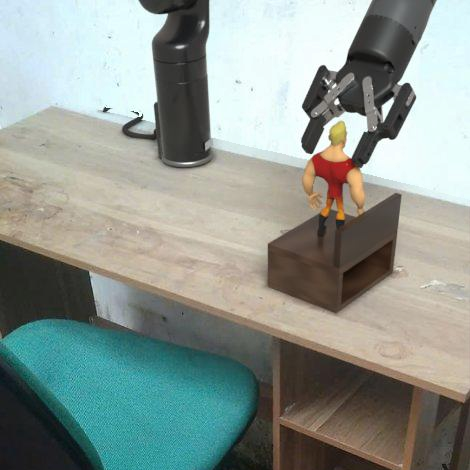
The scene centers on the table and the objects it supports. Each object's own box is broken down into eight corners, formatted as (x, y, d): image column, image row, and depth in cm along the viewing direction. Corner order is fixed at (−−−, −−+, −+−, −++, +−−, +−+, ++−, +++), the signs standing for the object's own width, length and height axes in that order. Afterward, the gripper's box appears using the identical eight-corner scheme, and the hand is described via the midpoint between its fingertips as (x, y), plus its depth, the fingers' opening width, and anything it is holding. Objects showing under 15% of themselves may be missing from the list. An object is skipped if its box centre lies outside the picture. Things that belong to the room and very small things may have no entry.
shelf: (267, 286, 113) (267, 207, 105) (325, 249, 121) (329, 173, 112) (336, 313, 107) (341, 232, 99) (393, 272, 115) (401, 194, 107)
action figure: (369, 238, 109) (379, 123, 98) (356, 249, 107) (365, 132, 96) (311, 222, 113) (314, 110, 102) (297, 232, 111) (299, 118, 100)
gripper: (331, 4, 99) (273, 130, 101) (432, 21, 92) (367, 155, 94) (353, 42, 105) (298, 159, 108) (448, 60, 99) (388, 185, 101)
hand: (330, 157), depth 101 cm, fingers open, 7 cm apart
